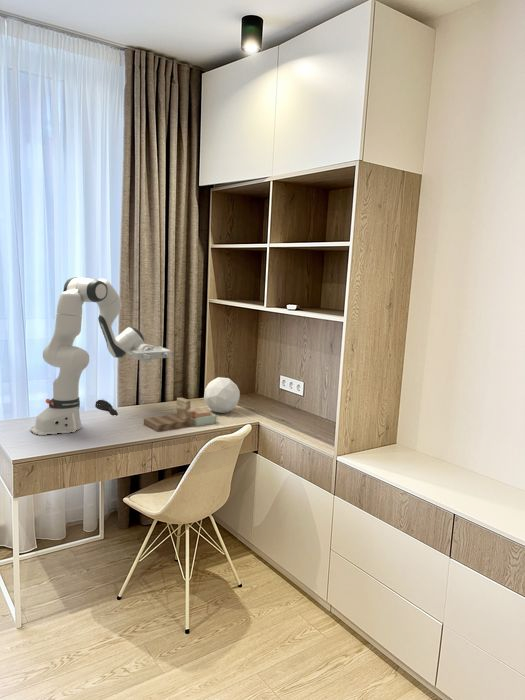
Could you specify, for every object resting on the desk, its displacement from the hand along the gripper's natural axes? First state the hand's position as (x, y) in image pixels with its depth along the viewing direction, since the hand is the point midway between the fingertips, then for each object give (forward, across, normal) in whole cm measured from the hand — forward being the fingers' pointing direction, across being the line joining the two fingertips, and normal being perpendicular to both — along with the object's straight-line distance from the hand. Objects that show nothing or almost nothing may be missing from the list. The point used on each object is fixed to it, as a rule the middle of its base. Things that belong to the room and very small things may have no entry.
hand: (158, 356), depth 269 cm
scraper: (+13, +7, +29) cm, 33 cm away
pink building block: (+16, +12, +29) cm, 36 cm away
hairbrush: (-28, -14, +33) cm, 45 cm away
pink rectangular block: (+12, +10, +29) cm, 33 cm away
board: (+13, -1, +32) cm, 35 cm away
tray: (+13, +15, +32) cm, 38 cm away
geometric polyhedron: (+5, +36, +32) cm, 48 cm away
